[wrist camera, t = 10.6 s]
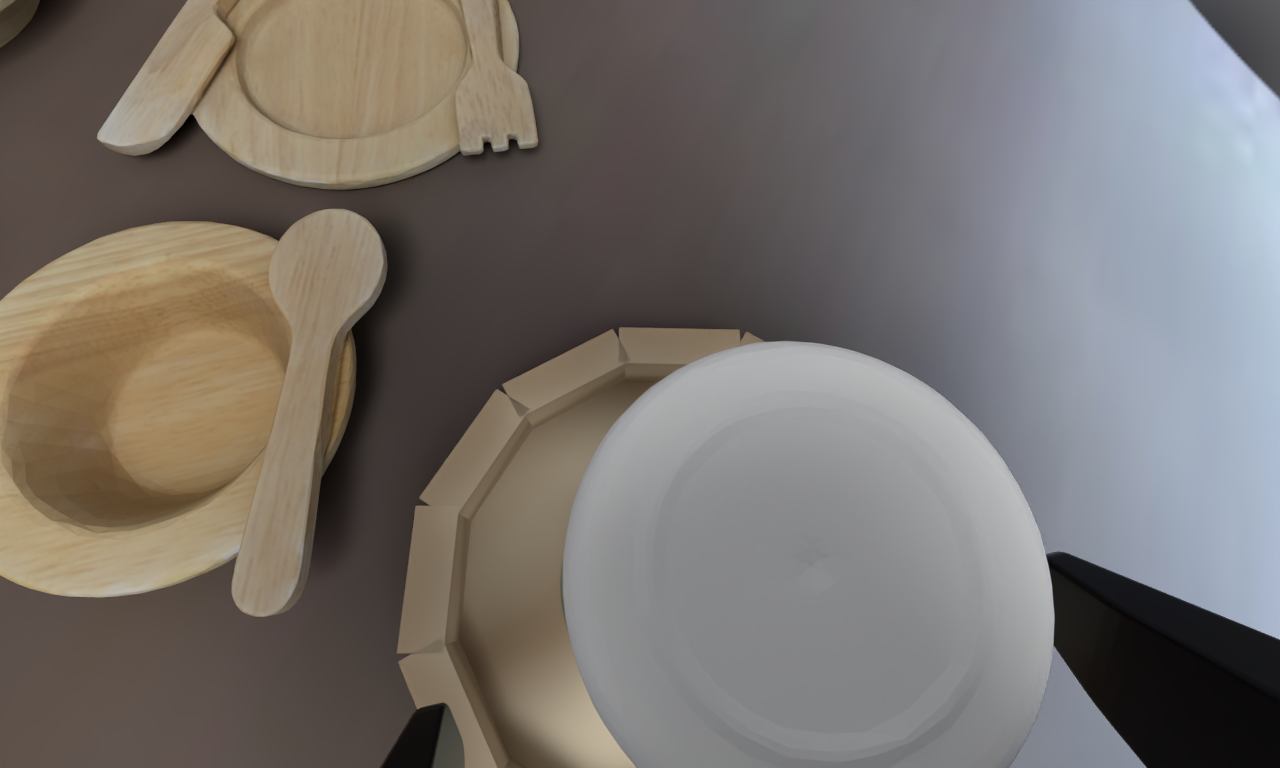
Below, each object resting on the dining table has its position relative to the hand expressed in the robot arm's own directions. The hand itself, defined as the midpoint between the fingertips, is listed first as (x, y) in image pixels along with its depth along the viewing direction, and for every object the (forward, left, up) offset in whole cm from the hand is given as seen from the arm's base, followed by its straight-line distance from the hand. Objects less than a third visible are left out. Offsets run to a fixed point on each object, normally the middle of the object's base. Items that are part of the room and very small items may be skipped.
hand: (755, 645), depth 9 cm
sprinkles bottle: (+1, 0, -9) cm, 9 cm away
